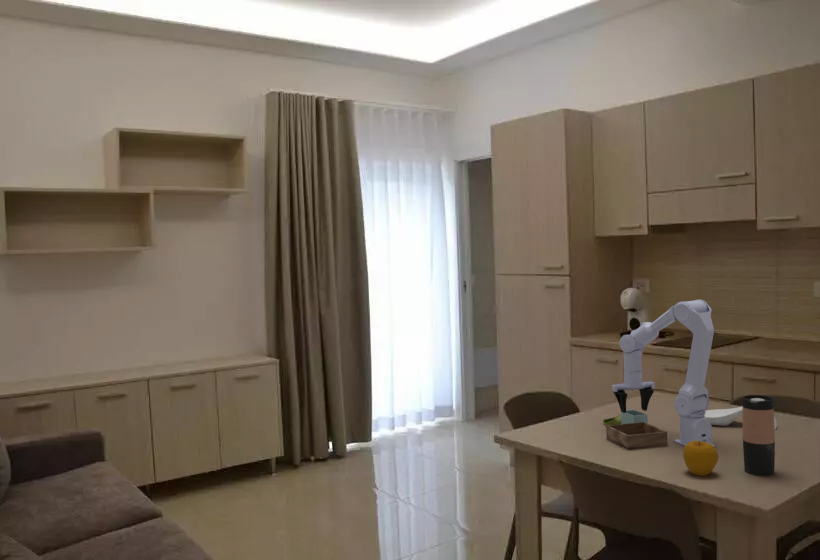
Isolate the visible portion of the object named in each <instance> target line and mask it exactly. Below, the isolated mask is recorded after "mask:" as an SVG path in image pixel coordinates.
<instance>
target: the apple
mask: <svg viewBox="0 0 820 560" xmlns="http://www.w3.org/2000/svg"><path fill="white" fill-rule="evenodd" d="M682 452H683V455H682V456H683V460H684V464H685V466H686V467H687V469H688V470H689V472H690V473H691V474H692V475H695V476H699V477H700V476H701V477H703V476H704V477H706V476H708V475H709V474H711V473H712V471H714V468H715V467H716V465H717V463H718V461H719V453H718V451H717V450H716V448H715V447H713V445H711V444H709V443H707V442H702V441H691V442H689V443H687V444H686V446H684V448H683V450H682Z"/></svg>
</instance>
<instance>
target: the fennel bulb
mask: <svg viewBox="0 0 820 560" xmlns="http://www.w3.org/2000/svg"><path fill="white" fill-rule="evenodd" d="M602 422H603V424H604V425H605V426H609V425H618V424H621V414H619V415H617V416H614V417H609V418H604V419H602Z"/></svg>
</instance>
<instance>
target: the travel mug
mask: <svg viewBox="0 0 820 560" xmlns="http://www.w3.org/2000/svg"><path fill="white" fill-rule="evenodd" d="M741 399H742V400H741V401H742V403H741V405H742V406H741V407H742V415H741V416H742V446H743V447H742V449H743V450H742V451H743V466H744V467H743V468H744V472H745V473H747V474H749V475H752V476H757V477H758V476H760V477H769V476H773V475H775V468H776V467H775V461H776V455H775V453H776V439H775V438H776V437H775V434H776V433H775V431H776V430H774V417H775V403H774V398H773V397H771V396H768V395H760V394H751V395H749V394H747V395H743V396H742V398H741Z"/></svg>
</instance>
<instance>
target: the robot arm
mask: <svg viewBox="0 0 820 560" xmlns="http://www.w3.org/2000/svg"><path fill="white" fill-rule="evenodd" d="M676 321H678V322H679V323H680V324H681V325H683V326H684V327H686V328H687V329H688V330H689V331H690V332H691V333H692V341H691V347H690V352H689V359H688V362H687V369H686V376H685V381H684V384H683V385H682V386H681V387H680V388H679V391H678V394H677V396H676V398H675V399H674V400H673V401H674V402H673V405H674V410H675V411H676V412H677V413H678V416H679V439H674V440H673V442H675V443H677V444H679V445H682V446H684V447H685V446H686V444H687V443H689V442H691V441H702V442H707V443H709V444H711V445H713V447H714V448H715V447H716V445H715V444H713V425H711V423H710V422H709V421H708V420H706V418H705V414H706V413H705V411H706V410H709V406H710V399H709V389H707V387H706V386H705V384H706V378H707V372H708V367H709V362H710V356H711V351H712V344H713V340H714V339H713V337H714V335H715V334H714V333H715V328H714V324H713V320H712V308H711V307H710V306H709V304H708V303H707V302H706V300H703V299H695V300H689V301H688V300H687V301H679V302H677V303H676V304H675V305H674V304H673V305H672V306H671V307H670V308H669V309H668V310H667V311H665V312H664V313H663V314H661V315H660V316H659V317H657V319H655V320H654V321H653V322H651V321H650V322H649V321H644V322H641V323H640V326H639V327H638V328H636V329H632V330H631V331H630V334H624V335H622V336H621V337H620V339H619V343H618V345H619V348H620V349H621V350H622V351H623V354H622V355H623V382H622V383H617V384H612V385H611V391H612V392H613V394H614V396H615V398H616V400H617V402H618V406H619V410H620V413H621V412H623V413H626V410H627V399H628V393H626V391H634V390H638V391H639V394H640V395H639V396H640V406H641V410H642V411H645V412H647V411H648V407H649V403H650V400H651V398H652V396H653V394H654V389H655V388H656V387H655V382H653V381H643V367H642V366H643V365H642V364H643V362H642V358H643V356H642V355H643V351H644V349H645V348H646V347H645V346H646V345H648V344H649V343H651V342H652V341H653V340H655V339H656V338H658V337H659V335H660V331H661V330H663V329H665V328H667V327H668V326H670V325H671V324H673V323H674V322H676Z"/></svg>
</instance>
